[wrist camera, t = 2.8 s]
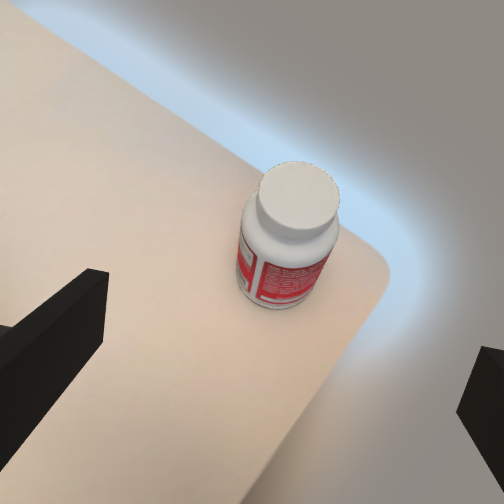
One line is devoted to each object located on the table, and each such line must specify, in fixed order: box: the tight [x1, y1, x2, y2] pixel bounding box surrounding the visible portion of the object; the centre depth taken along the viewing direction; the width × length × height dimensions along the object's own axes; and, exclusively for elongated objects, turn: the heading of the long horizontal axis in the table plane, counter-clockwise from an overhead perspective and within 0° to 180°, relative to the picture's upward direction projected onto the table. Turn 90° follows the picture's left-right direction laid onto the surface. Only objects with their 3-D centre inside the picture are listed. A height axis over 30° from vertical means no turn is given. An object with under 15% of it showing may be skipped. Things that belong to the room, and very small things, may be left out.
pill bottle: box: [236, 162, 340, 309], centre depth 30 cm, size 6×6×11 cm
